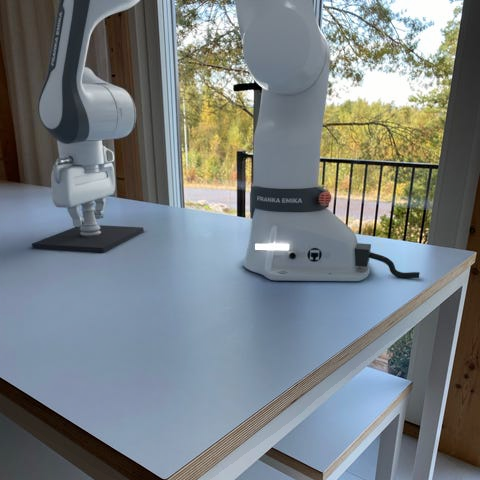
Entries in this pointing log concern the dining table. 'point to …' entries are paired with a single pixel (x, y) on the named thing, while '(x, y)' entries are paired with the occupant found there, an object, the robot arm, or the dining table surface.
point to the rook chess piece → (89, 221)
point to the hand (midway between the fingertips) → (89, 222)
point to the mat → (89, 239)
